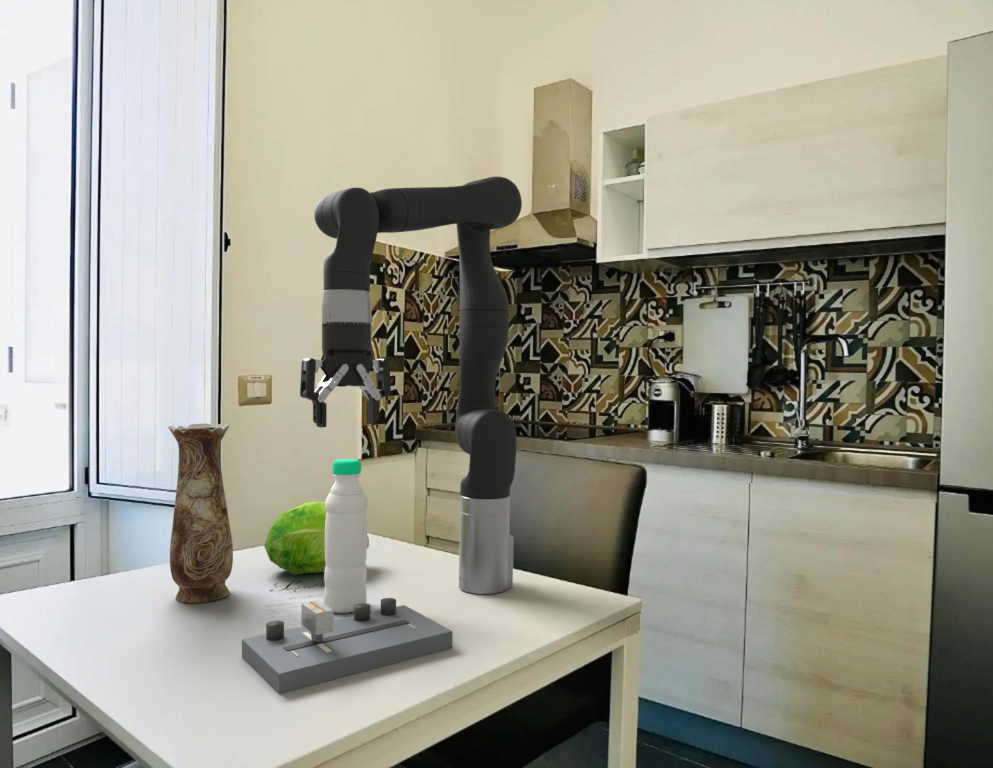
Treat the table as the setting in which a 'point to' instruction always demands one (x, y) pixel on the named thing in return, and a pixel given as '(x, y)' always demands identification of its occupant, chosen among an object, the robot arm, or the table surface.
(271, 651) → the console
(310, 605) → the fader
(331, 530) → the water bottle
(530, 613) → the table surface
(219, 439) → the vase
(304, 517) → the lettuce
